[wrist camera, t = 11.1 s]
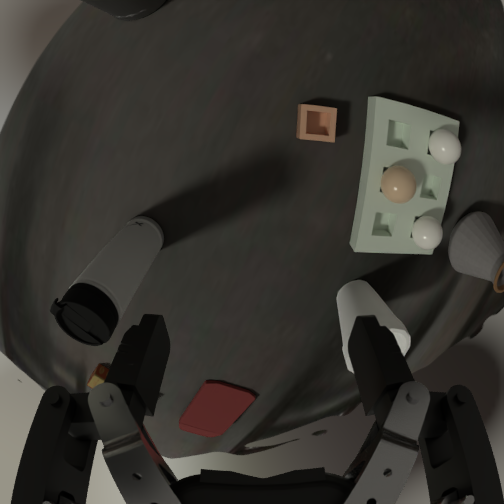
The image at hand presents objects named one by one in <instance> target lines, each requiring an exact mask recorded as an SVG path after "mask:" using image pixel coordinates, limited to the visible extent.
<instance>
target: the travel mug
mask: <svg viewBox="0 0 504 504" xmlns="http://www.w3.org/2000/svg"><path fill="white" fill-rule="evenodd" d="M163 242H164V235H163V231H162V229H161V227H160V226H159V225H158V224H157V222H155V221H154V220H153V219H151V218H149V217H145V216H137V217H135V218H133V219H131V220H130V221H129V222H128V223H127V224H126V225H125V226H124V227H123V228H122V229H121V230H120V231H119V232H118V233H117V234H116V235H115V237H114V238H113V239H112V240H111V241H110V242H109V243H108V244H107V245H106V246H105V247H104V248H103V249H102V251H101V252H100V253H99V254H98V255H97V256H96V257H95V258H94V259H93V261H92V262H91V263H90V264H89V265H88V266H87V267H86V269H85V270H84V271H83V272H82V273H81V274H80V276H79V277H78V278H77V279H76V280H75V282H74V283H73V284H72V285H71V286H70V288H69V290H68V291H67V292H66V294H65V295H64V296H63V298H62V300H61V301H60V302H58V303H57V301H58V298H56V299H55V301H54V302H53V304H52V306H51V309H50V312H51V313H52V314H53V315H54V316H55V319H56V321H57V323H58V325H59V326H60V327H61V329H62V330H63V331H64V332H65V333H66V334H67V335H69V336H70V337H72V338H73V339H75V340H77V341H79V342H81V343H83V344H86V345H91V346H99V345H102V344H103V343H106V342H107V341H109V339H110V338H111V336H112V334H113V332H114V329H115V328H116V326H117V325H118V323H119V321H120V319H121V318H122V316H123V314H124V312H125V310H126V308H127V306H128V305H129V303H130V301H131V299H132V297H133V295H134V294H135V292H136V290H137V288H138V287H139V285H140V283H141V281H142V280H143V278H144V276H145V274H146V273H147V271H148V269H149V268H150V266H151V264H152V262H153V261H154V259H155V257H156V256H157V254H158V252H159V251H160V249H161V248H162V245H163Z"/></svg>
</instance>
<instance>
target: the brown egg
mask: <svg viewBox="0 0 504 504" xmlns="http://www.w3.org/2000/svg"><path fill="white" fill-rule="evenodd" d="M380 185H381V190H382V192H383V194H384V196H385V197H386V198H387V199H388V200H389V201H391V202H393V203H397V204H403V203H406V202H408V201H410V200H411V199H412V198H413V197H414V195H415V193H416V189H417V183H416V179H415V177H414V175H413V173H412V172H411V171H410V170H409V169H407V168H406V167H403V166H392V167H389V168H388V169H387V170H386V171H385V172H384V173H383V175H382V177H381V183H380Z"/></svg>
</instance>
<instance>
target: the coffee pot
mask: <svg viewBox="0 0 504 504" xmlns="http://www.w3.org/2000/svg"><path fill="white" fill-rule="evenodd" d="M448 254H449V259H450V262H451V265H452V267H453V268H454V269H455V270H456V271H458V272H461V273H464V274H468V275H471V276H475V277H478V278H482V279H486V280H489V281H492V282H493V284H494V285H493V286H494V290H495V291H496V292H498V293H501V292H504V242H503V240H502V238H501V236H500V234H499V232H498V230H497V228H496V226H495V224H494V222H493V220H492V219H491V217H490V216H489V215H488V214H486V213H485V212H480V211H476V212H471V213H469V214H467V215H466V216H464V217H463V218H462V219H460V220H459V221H458V222H457V224H456V225H455V226H454V228H453V230H452V232H451V236H450V240H449V247H448Z"/></svg>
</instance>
